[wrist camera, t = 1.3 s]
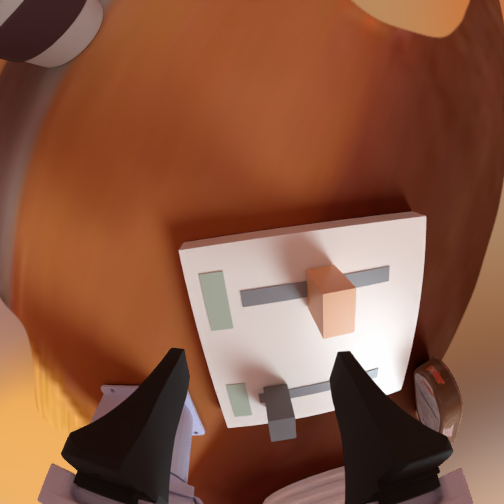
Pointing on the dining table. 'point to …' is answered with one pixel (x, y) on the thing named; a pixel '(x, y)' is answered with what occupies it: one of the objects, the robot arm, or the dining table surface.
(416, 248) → the board
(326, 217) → the dining table surface
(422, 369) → the tin
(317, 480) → the plate stack
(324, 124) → the dining table surface
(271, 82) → the dining table surface
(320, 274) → the switch
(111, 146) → the dining table surface
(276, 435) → the gray rectangular block
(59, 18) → the coffee cup
